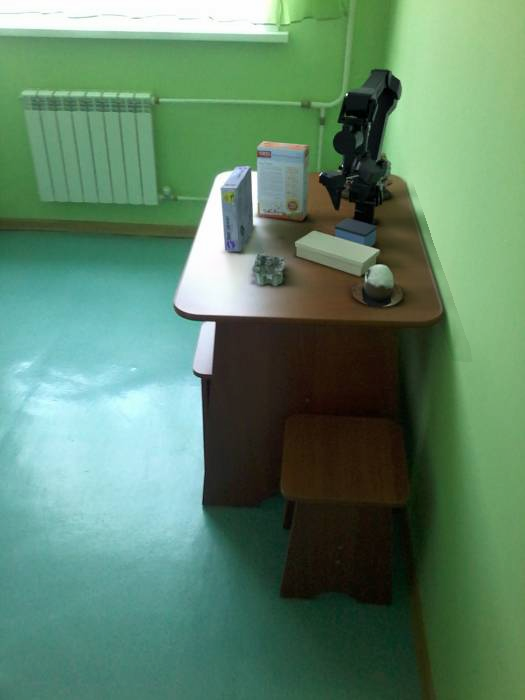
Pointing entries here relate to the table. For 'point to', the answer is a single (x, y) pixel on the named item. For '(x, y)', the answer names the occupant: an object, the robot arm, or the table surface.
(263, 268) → the egg carton
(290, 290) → the table surface
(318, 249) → the cream lidded box
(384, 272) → the egg in cup
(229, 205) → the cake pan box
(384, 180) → the owl figurine
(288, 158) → the cracker box
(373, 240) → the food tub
